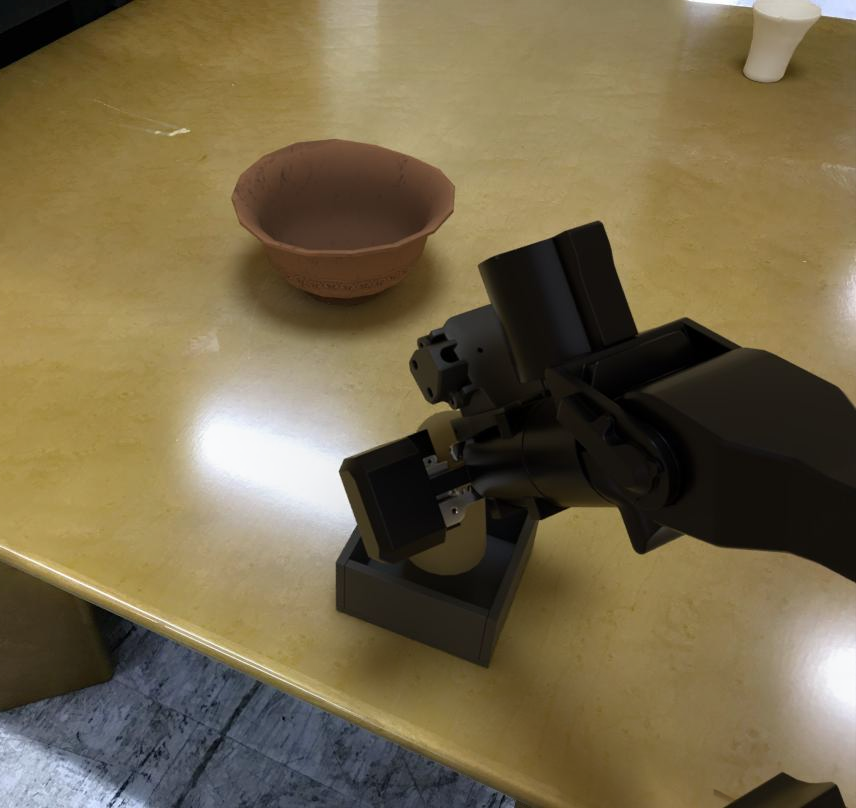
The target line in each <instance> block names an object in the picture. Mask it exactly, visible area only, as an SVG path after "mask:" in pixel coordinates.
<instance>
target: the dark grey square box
mask: <svg viewBox="0 0 856 808" xmlns="http://www.w3.org/2000/svg"><path fill="white" fill-rule="evenodd" d="M485 514H486V537H487V546H486V551H485V555H484V557H483V558H482V560H481V561H480V562H479V564H478V565H476V566H475V567H473V568H472V569H470V570H469V571H467V572H463V573H460V574H457V575H439V574H434V573H430V572H427V571H425V570H423V569H421V568H419V567H417V566H416V565H415V564H414V563H413V562H412V561H411V560H410V559H409V558H407V559H405V560H403V561H400V562H398V563H396V564H393V565H392V564H386V563H380V562H378V561H376V560H374V559H372V558H370V557H368V554H367V551H366V548H365V545H364V543H363V540H362V537H361V534H360V531H359V528H358V526H357V524H356V526H355V527H354V529H353V531H352V533H351V534H350V535H349V538H348V539H347V542H346V543H345V544H344V547H343V549H342V550H341V552H340V554H339V555H338V557H337V559H336V561H335V610H336V611H338V612H341V613H343V614H345V615H349V616H351V617H354V618H356V619H358V620H361V621H364V622H366V623H369V624H372V625H374V626H376V627H380V628H381V629H385V630H387V631H389V632H393V633H395V634H398V635H400V636H402V637H405V638H408V639H410V640H413V641H415V642H418V643H420V644H422V645H424V646H428V647H430V648H433V649H436V650H438V651H441V652H444V653H446V654H448V655H451V656H454V657H456V658H459V659H461V660H464V661H467V662H469V663H472V664H475V665H477V666H480V667H482V668H485V669H489V667H490V663H491V661H492V658H493V656H494V653H495V650H496V648H497V645H498V642H499V640H500V637H501V634H502V631H503V629H504V627H505V624H506V621H507V618H508V615H509V613H510V610H511V607H512V605H513V602H514V599H515V597H516V594H517V593H518V589H519V586H520V584H521V581H522V578H523V576H524V574H525V571H526V567H527V565H528V563H529V560H530V557H531V555H532V551H533V549H534V545H535V540H536V536H537V531H538V528H539V524H540V520H531V519H530V516H529V513H528V510H527V508H526V509H524V510H522V511H519V512H517V513H515V514H512V515H510V516H508V517H505V518H503V519H493V518H492V516H491V513H490V510H489V507H488V504H487V501H486V499H485Z"/></svg>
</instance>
